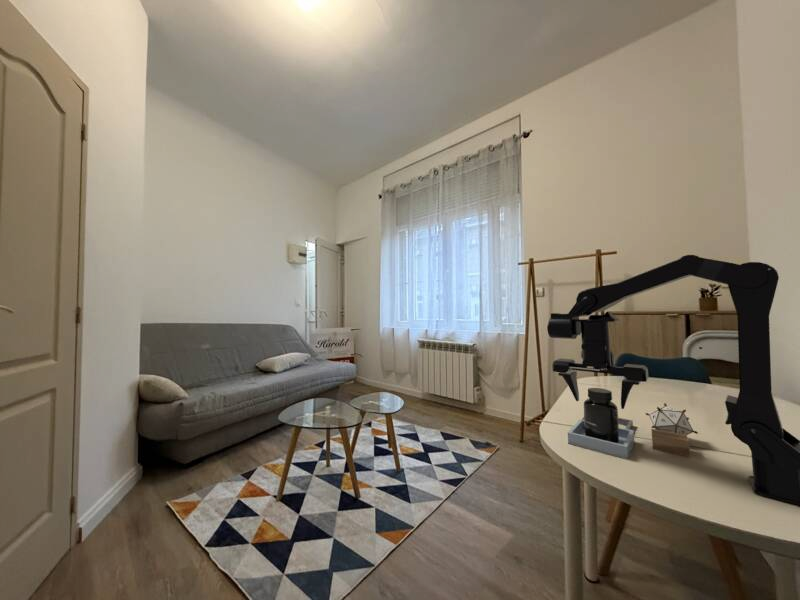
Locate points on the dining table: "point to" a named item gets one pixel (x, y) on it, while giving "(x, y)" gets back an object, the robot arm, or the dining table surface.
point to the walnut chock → (670, 442)
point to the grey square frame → (624, 422)
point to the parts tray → (602, 441)
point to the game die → (671, 420)
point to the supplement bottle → (601, 415)
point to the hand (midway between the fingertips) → (599, 404)
